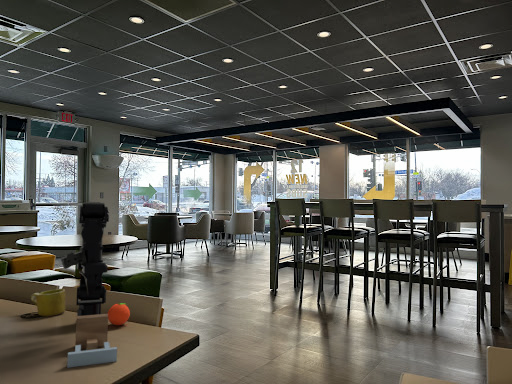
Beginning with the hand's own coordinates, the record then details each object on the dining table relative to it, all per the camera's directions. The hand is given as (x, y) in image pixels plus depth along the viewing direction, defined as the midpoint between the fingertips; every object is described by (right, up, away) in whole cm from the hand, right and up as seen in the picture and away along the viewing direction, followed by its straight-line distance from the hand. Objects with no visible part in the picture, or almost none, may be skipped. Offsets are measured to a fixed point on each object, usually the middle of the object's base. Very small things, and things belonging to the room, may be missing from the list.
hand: (90, 295), depth 118 cm
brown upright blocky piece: (+6, -11, -14) cm, 18 cm away
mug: (-25, -13, +23) cm, 36 cm away
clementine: (+5, -13, +10) cm, 17 cm away
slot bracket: (+9, -11, -20) cm, 25 cm away
